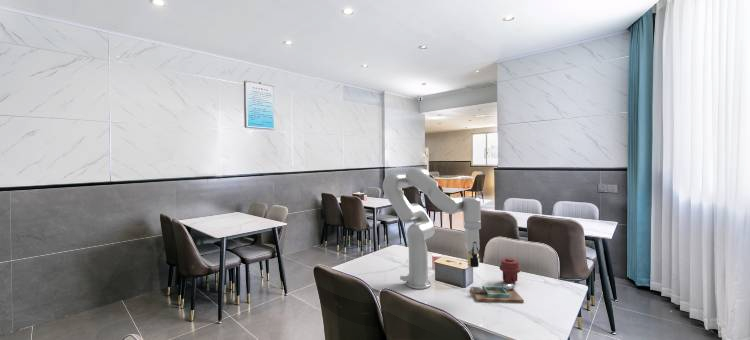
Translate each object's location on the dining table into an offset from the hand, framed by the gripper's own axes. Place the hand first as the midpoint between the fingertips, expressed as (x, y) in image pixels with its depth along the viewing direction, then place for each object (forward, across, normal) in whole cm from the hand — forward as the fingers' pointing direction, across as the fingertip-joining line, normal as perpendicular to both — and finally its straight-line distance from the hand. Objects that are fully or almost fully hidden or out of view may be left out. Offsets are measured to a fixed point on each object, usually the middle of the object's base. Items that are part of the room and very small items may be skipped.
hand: (473, 264), depth 146 cm
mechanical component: (+16, -21, +22) cm, 34 cm away
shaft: (+16, -8, +18) cm, 25 cm away
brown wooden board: (+16, -4, +11) cm, 19 cm away
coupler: (+1, 0, 0) cm, 1 cm away
